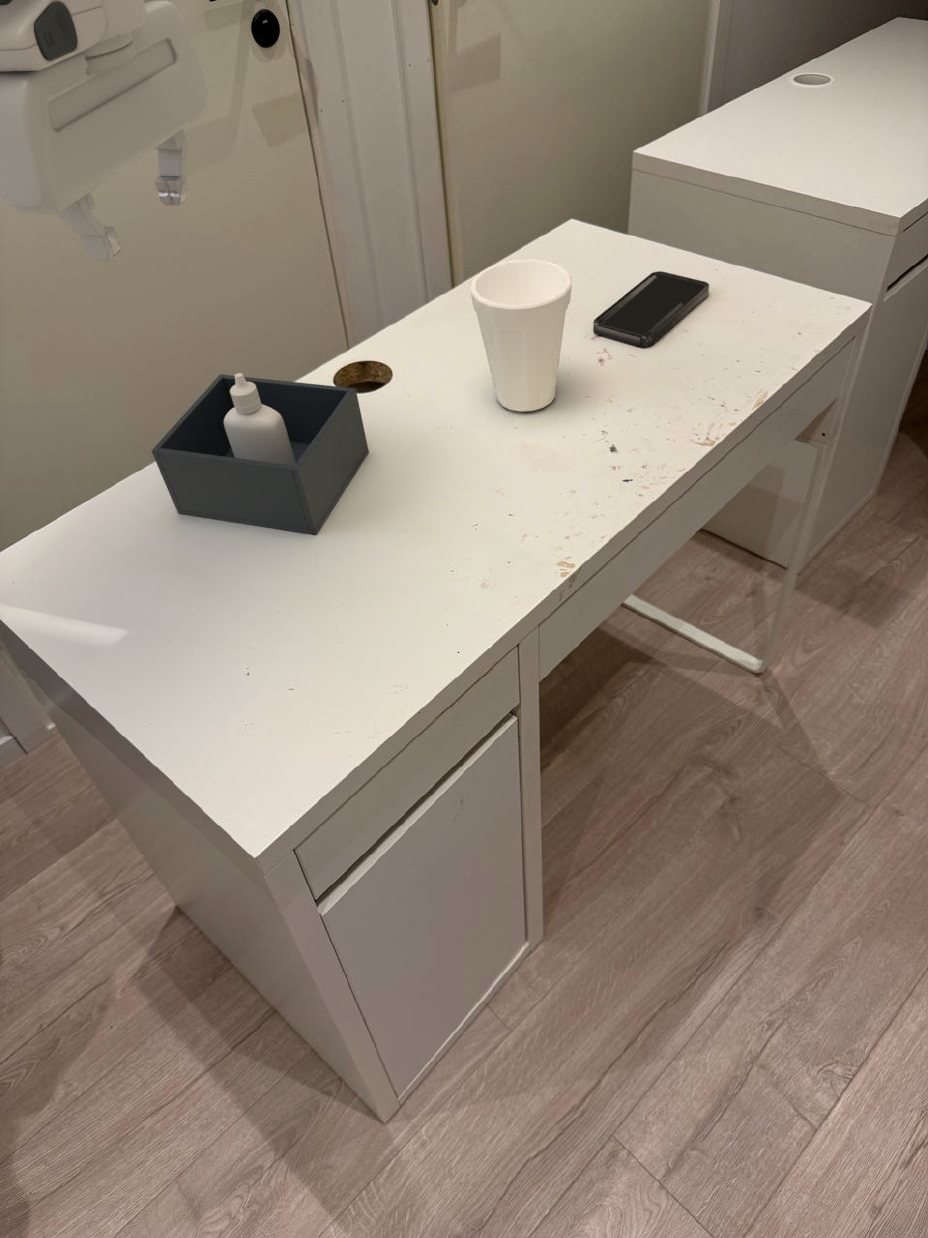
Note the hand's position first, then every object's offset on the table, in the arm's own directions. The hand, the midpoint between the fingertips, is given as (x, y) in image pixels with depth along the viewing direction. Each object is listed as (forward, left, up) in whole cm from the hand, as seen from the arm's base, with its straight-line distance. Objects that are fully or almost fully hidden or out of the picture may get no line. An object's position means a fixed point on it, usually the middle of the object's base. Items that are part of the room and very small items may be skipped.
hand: (143, 227), depth 64 cm
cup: (+20, +26, -29) cm, 44 cm away
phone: (+30, +46, -29) cm, 62 cm away
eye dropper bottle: (-1, +7, -28) cm, 29 cm away
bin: (-1, +7, -29) cm, 30 cm away
